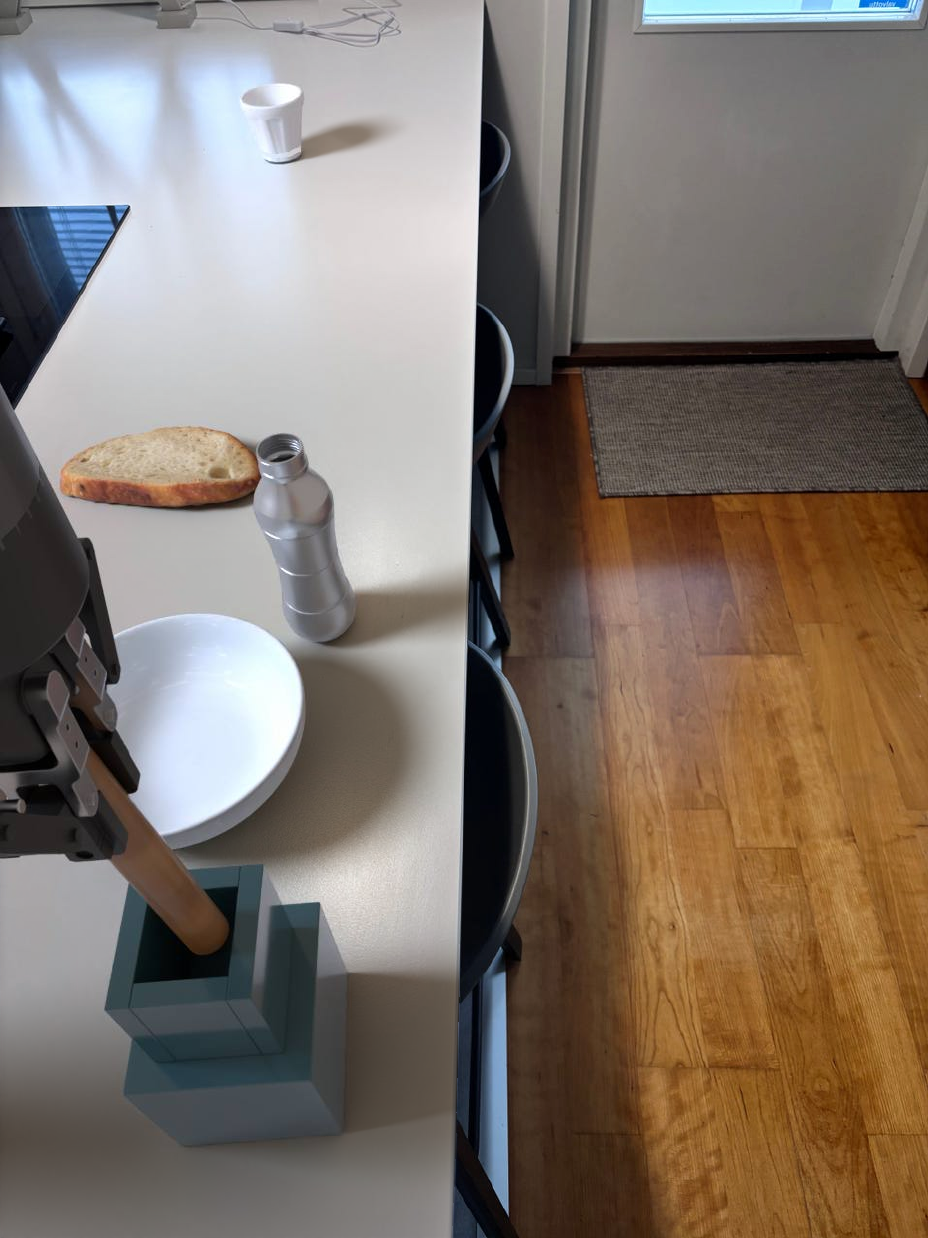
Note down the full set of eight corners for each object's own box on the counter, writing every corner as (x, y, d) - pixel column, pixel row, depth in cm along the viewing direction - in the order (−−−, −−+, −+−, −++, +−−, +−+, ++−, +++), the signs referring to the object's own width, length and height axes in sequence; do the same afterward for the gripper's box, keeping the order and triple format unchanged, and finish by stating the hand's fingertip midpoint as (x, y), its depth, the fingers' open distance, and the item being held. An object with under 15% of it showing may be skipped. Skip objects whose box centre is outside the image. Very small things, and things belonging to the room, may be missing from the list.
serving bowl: (342, 669, 82) (329, 616, 77) (283, 895, 69) (263, 850, 63) (115, 655, 85) (88, 603, 80) (15, 871, 71) (-26, 825, 66)
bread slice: (50, 480, 102) (36, 452, 99) (197, 409, 109) (188, 381, 106) (125, 567, 92) (112, 539, 90) (281, 483, 99) (273, 454, 97)
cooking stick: (178, 946, 47) (-38, 714, 32) (202, 906, 48) (5, 665, 34) (213, 961, 46) (10, 730, 31) (237, 921, 48) (52, 680, 33)
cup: (323, 158, 153) (313, 96, 146) (266, 175, 150) (253, 112, 143) (299, 137, 159) (288, 77, 152) (243, 153, 156) (229, 92, 149)
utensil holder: (180, 1147, 58) (64, 1046, 44) (201, 983, 65) (107, 849, 50) (343, 1134, 58) (280, 1029, 44) (347, 972, 65) (294, 835, 50)
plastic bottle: (347, 588, 89) (309, 411, 74) (369, 638, 84) (333, 462, 69) (280, 609, 87) (227, 433, 72) (299, 661, 83) (246, 486, 68)
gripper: (-148, 362, 30) (57, 690, 43) (-380, 714, 21) (-32, 997, 34) (85, 343, 30) (220, 677, 43) (-46, 687, 21) (176, 981, 34)
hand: (108, 817), depth 39 cm, fingers closed on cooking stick, 2 cm apart
